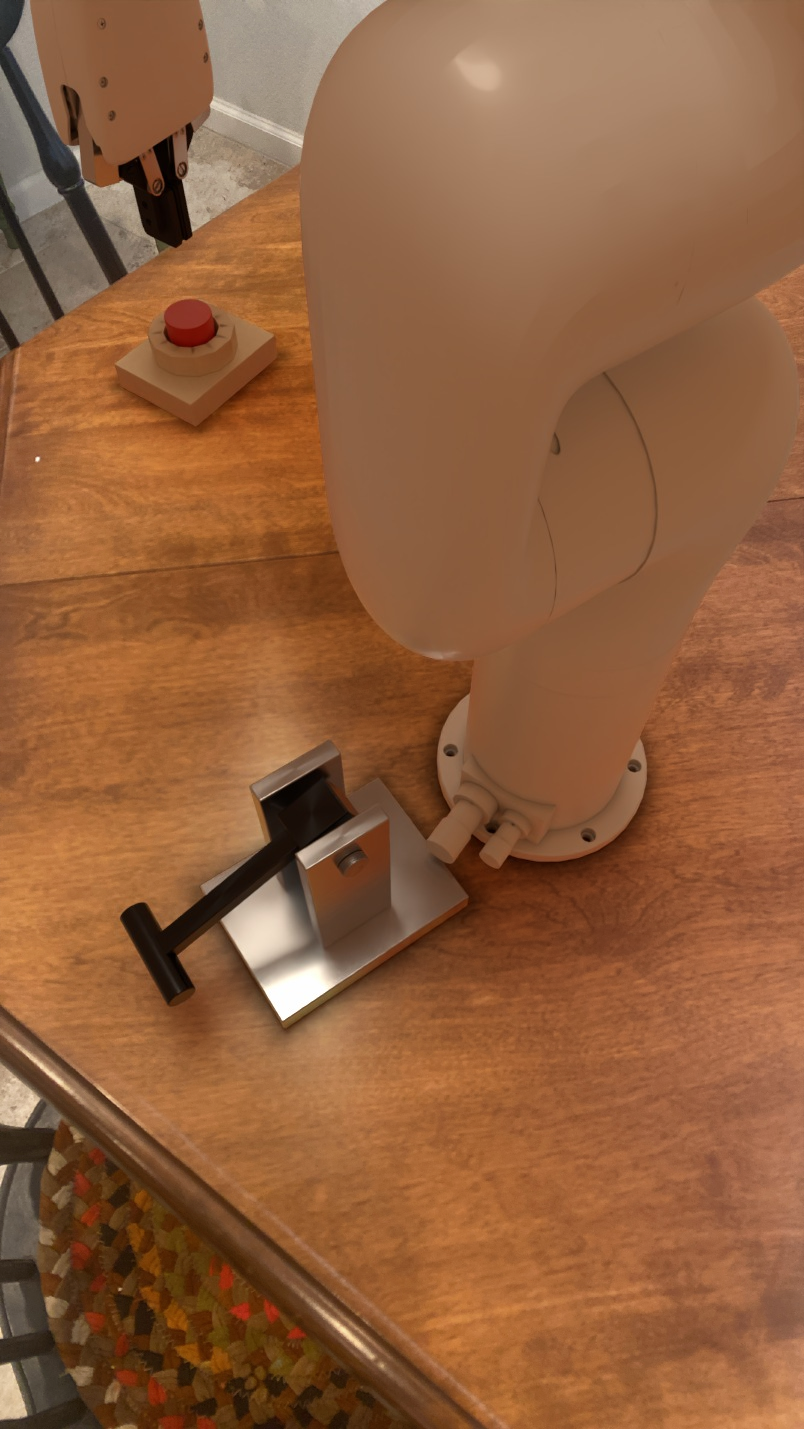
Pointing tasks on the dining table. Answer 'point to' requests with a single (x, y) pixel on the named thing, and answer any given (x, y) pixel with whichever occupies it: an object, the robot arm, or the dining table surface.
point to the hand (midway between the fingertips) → (168, 235)
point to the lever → (232, 889)
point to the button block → (196, 366)
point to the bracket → (335, 892)
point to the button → (189, 323)
